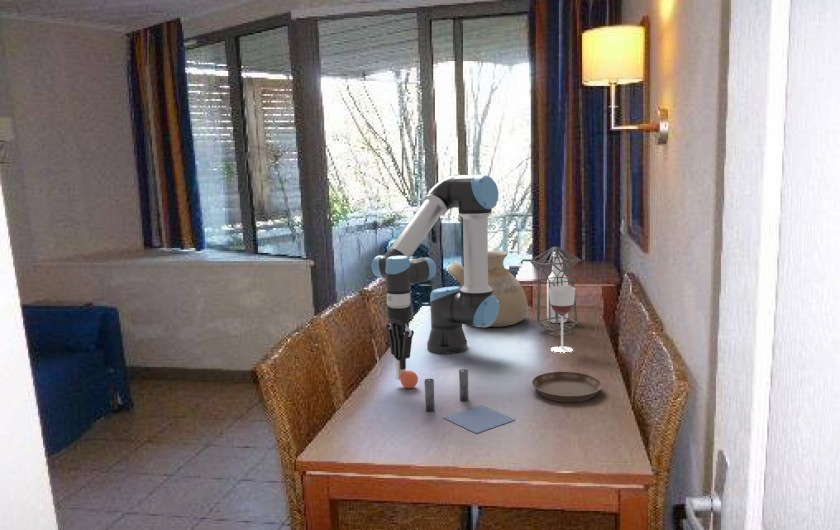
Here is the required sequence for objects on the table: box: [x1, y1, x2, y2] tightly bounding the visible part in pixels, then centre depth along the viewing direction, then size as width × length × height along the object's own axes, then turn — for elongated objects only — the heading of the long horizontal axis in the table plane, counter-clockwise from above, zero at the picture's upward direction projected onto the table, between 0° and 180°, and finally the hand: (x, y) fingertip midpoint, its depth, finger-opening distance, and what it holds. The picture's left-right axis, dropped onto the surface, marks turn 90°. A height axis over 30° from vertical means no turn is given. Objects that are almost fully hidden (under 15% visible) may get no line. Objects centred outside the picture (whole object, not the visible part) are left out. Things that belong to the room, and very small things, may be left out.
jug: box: [447, 250, 529, 328], centre depth 288 cm, size 29×34×30 cm
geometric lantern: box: [530, 246, 583, 337], centre depth 266 cm, size 16×16×35 cm
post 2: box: [458, 369, 469, 402], centre depth 198 cm, size 3×3×9 cm
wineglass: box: [549, 285, 576, 354], centre depth 244 cm, size 9×10×23 cm
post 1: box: [424, 378, 436, 413], centre depth 191 cm, size 3×3×9 cm
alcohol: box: [546, 251, 569, 324], centre depth 285 cm, size 9×9×30 cm
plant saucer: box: [531, 371, 603, 403], centre depth 202 cm, size 21×21×3 cm
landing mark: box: [443, 404, 516, 435], centre depth 184 cm, size 14×14×1 cm
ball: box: [400, 370, 419, 389], centre depth 210 cm, size 6×6×6 cm
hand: (401, 378), depth 213 cm, fingers closed
